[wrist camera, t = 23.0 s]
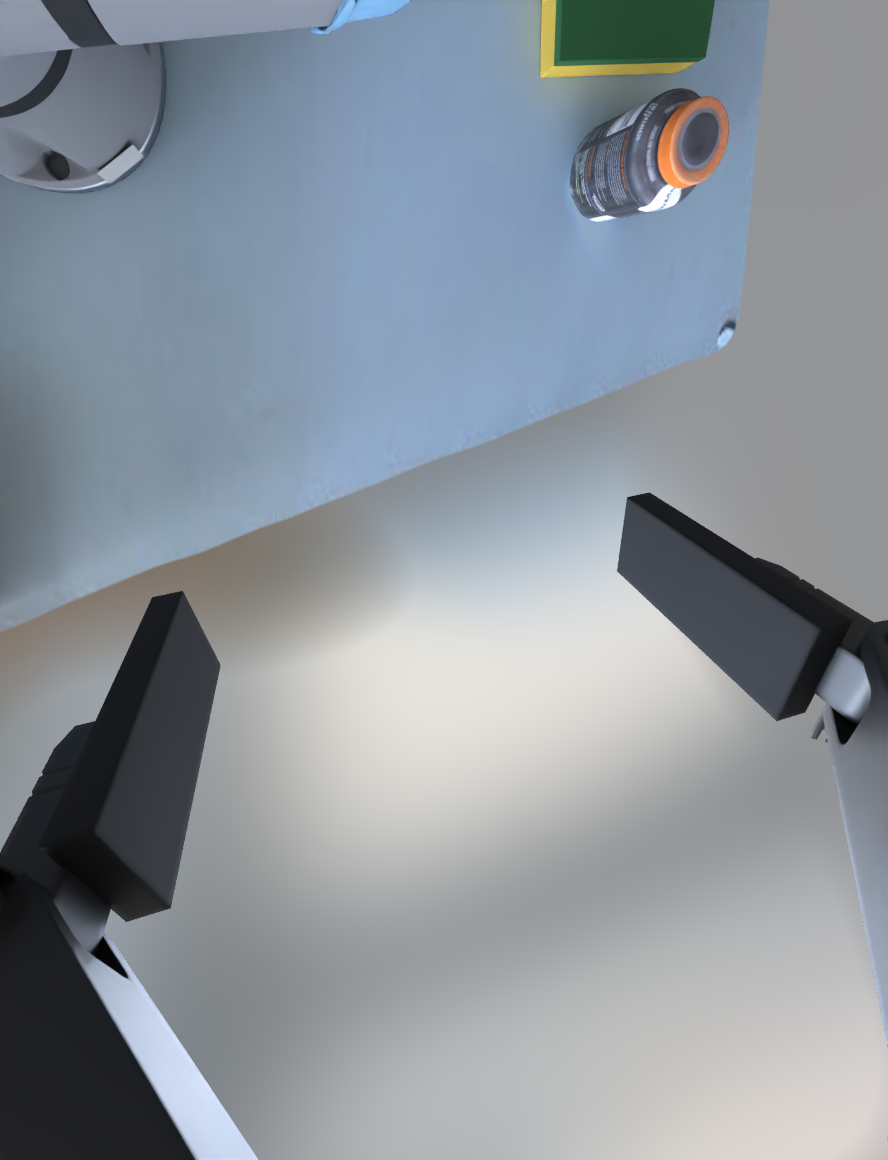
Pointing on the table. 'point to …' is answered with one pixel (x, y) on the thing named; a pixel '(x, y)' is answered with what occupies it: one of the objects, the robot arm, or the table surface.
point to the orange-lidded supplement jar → (649, 156)
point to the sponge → (622, 36)
